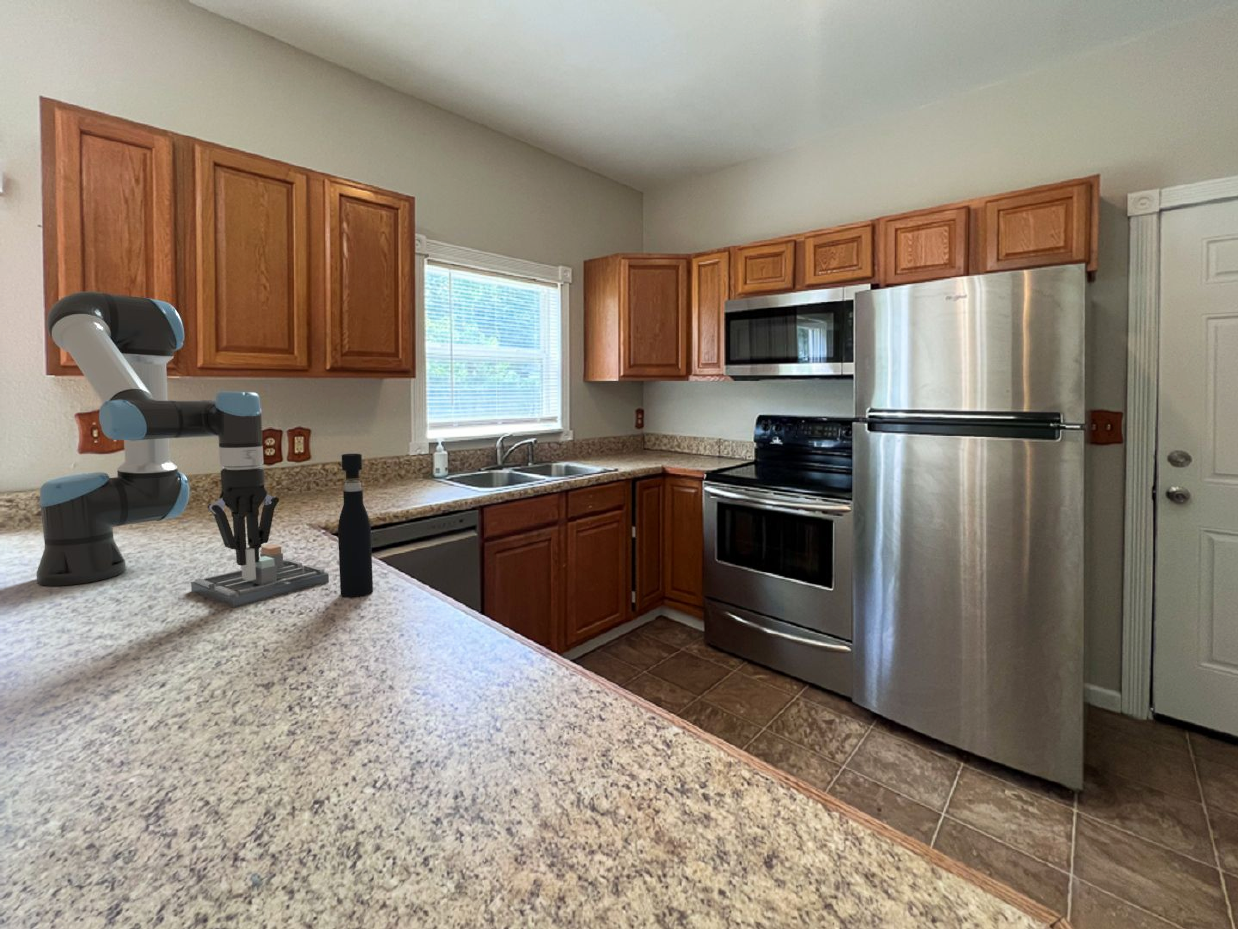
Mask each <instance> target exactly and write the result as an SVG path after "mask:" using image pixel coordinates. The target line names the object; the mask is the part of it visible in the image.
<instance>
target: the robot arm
mask: <svg viewBox="0 0 1238 929" xmlns="http://www.w3.org/2000/svg"><path fill="white" fill-rule="evenodd" d="M46 328H47V332H48V334H49V336H50V338H51V339H52V341H53V342H54V344H55V345H56V346H58V347H59V349H61V350H63V351H65V352H67V353H68V354H69V355H70V357H71V358H72V360H73V361H74V363H75V364H76V365H77V367H78V369H79V370H80V372H82V374H83V376H84V377H85V378H86V379H85V380H87V382H88V383H89V384H90V386H91V387H92V389H93V390H94V392H95V393H96V396H98V398H99V399H100V400H101V402H102V404H101V406H100V408H99V413H98V422H99V424H100V426H101V427H100V428H101V431H102V433H103V434H104V436H105V437H106V438H108V439H109V440H110V439H111V440H113V441H114V440H115V441H123V445H124V448H123V449H124V462H123V463H122V464H120V466H118V467H117V469H116V470H117V477H116V476H115V477H110V476H109V474H108V473H107V472H100V471H99V472H90V473H89V472H88V473H81V474H73V475H68V476H62V477H58V478H54V479H51V480H48V481H46V482H44V483H43V484H42V485H41V487H40V488H39V504H38V505H39V507H40V511H41V512H40V513H41V522H42V531H43V532H42V533H43V539H44V540H43V542H44V550H43V553H42V555H41V558H40V560H39V561H40V562H39V564H38V567H37V570H36V574H35V575H36V583H37V584H38V585H40V586H45V587H46V586H47V587H49V586H51V587H57V586H58V587H59V586H60V587H61V586H72V585H81V584H89V583H93V582H98V581H103V580H106V579H110V578H114V577H117V576H119V575H121V574H123V573H125V572H126V571H127V565H126V560H125V558H124V556H123V554H122V552H121V551H120V549H119V547H118V545H117V543H116V541H115V539H114V527H115V528H116V527H120V526H127V525H136V524H141V523H142V524H143V523H149V522H155V521H156V522H161V521H163V520H168V519H173V518H176V517H178V516H180V515H181V514H182V513H183V512H184V511H185V510H186V508H187V506H188V502H189V499H190V484H189V483H188V482H189V481H188V480H189V479H188V478H187V477H186V474H184V473H183V472H180V471H179V467H178V466H177V465H176V464H175V463H173V462H172V461H171V455H170V439H184V438H205V437H206V438H211V437H216V438H218V447H219V448H218V450H219V466H220V467H222V468H221V470H220V482H221V484H220V485H221V493H220V495H219V499H218V500H217V501H215V502H214V503H210V504H208V505H207V509H208V511H209V512H211V514H212V515H213V516H214V520H215V522H216V525H217V528H218V531H219V533H220V536H221V539H222V542H223V545H224V547H225V548H227V549H230V550H235V555H236V556H235V559H236V563H237V565H238V566H240V567H241V570H242V579H244V580H247V581H251V580H255V579H256V568H255V563H256V562H259V557H260V549H261V547H262V546H263V545H264V544H268V542H269V540H270V534H271V529H272V523H273V519H274V515H275V514H274V513H275V509H276V506H278V503H279V502H280V499H279V497H278V496H277V497H276V496H272V495H270V494H268V491H267V489H266V487H265V483H266V482H265V469H264V468H263V467H262V465H264V463H265V462H264V447H263V427H262V426H263V425H262V424H263V422H262V420H263V419H262V412H263V411H262V408H261V402H260V401H261V400H260V395H259V394H258V393H256V392H255V391H219V392H217V393H216V396H215V400H211V399H209V400H206V399H205V400H169V399H168V375H167V374H168V373H167V364H168V363H169V362H170V361H172V359H174V358H175V357H174V356H175V355H174V354H175V353H174V352H176V351H178V350H180V349H182V348H183V346H184V343H183V342H184V341H185V331H184V330H185V329H184V324H183V321H182V318H181V315H180V314H179V312H178V311H177V310H176V308H175V307H174V306H173V305H172V304H170V303H169V302H166V301H163V300H159V299H154V298H148V297H140V296H129V295H124V294H123V295H122V294H114V293H105V292H100V291H94V290H93V291H89V290H87V291H86V290H84V291H77V292H74V293H70V294H67V295H66V296H63V297H61V298H60V299H59V300H58V301H56V302H55V303H54V304H53V305H52V306H51V308H50V309H49V311H48V314H47V316H46ZM262 504H263V506H262V510H261V515H260V506H261V505H262ZM226 508H228V509H229V510H230V512H231V513H230V515H231V517H232V526H233V530H232V526H231V524H230V523H229V520H228V516H227V513H226V512H225V510H226ZM259 516H260V520H259Z"/></svg>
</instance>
